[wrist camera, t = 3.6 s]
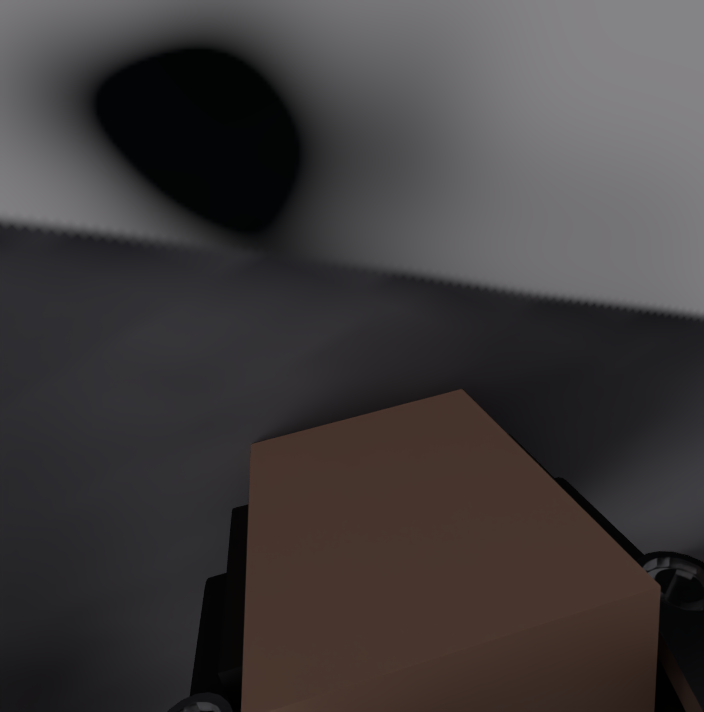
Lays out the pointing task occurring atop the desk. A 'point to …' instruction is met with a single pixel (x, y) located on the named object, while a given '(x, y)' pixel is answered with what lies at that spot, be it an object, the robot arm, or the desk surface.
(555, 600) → the terracotta block
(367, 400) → the desk surface
